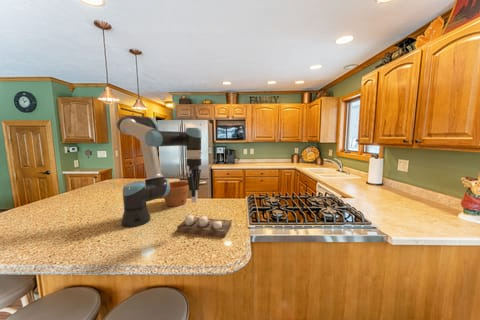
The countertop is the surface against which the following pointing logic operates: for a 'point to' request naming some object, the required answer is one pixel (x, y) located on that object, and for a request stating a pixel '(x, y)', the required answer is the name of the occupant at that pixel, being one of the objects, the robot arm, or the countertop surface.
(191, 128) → the robot arm
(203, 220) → the button
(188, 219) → the button
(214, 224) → the button
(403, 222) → the countertop surface
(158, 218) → the countertop surface
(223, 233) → the board
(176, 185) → the flower pot
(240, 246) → the countertop surface
